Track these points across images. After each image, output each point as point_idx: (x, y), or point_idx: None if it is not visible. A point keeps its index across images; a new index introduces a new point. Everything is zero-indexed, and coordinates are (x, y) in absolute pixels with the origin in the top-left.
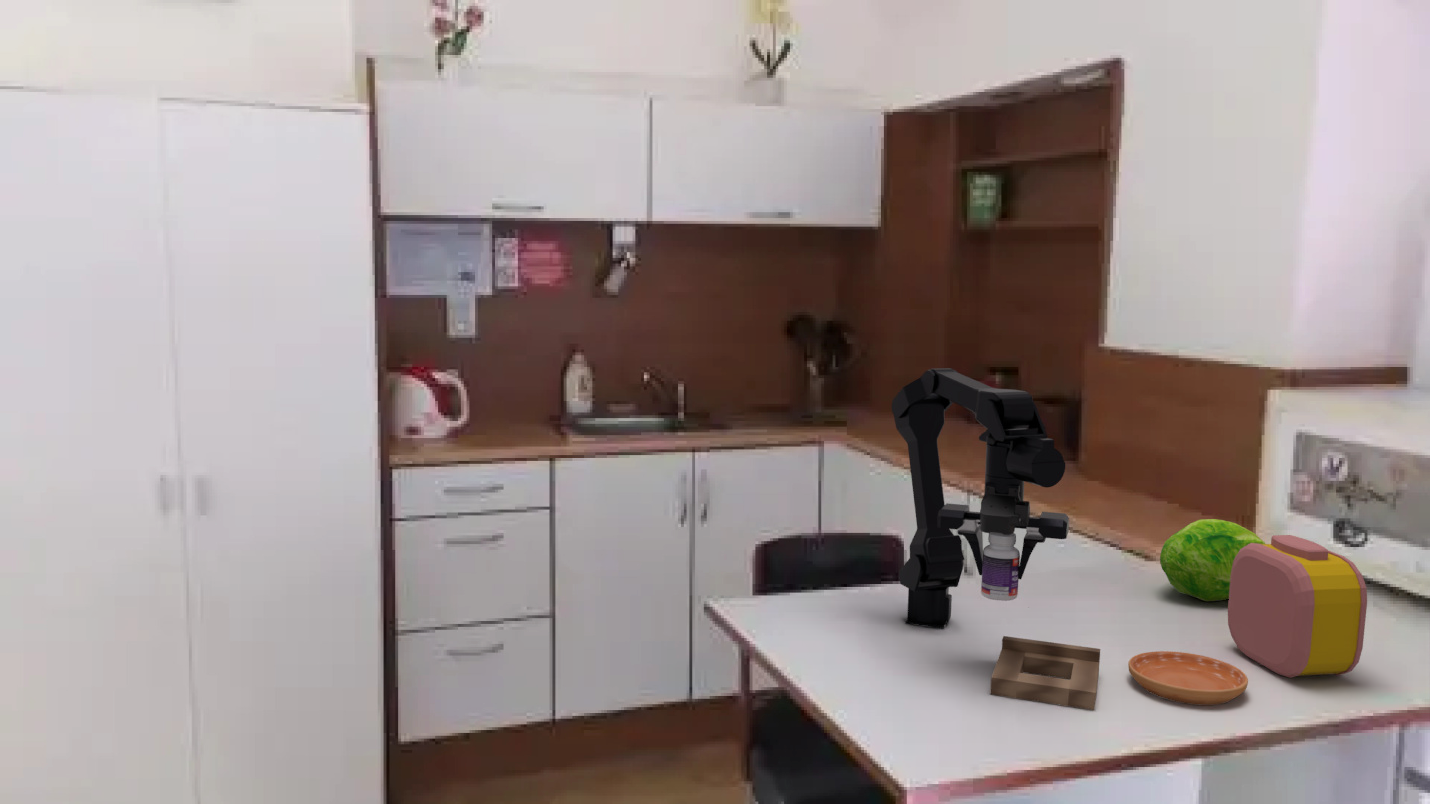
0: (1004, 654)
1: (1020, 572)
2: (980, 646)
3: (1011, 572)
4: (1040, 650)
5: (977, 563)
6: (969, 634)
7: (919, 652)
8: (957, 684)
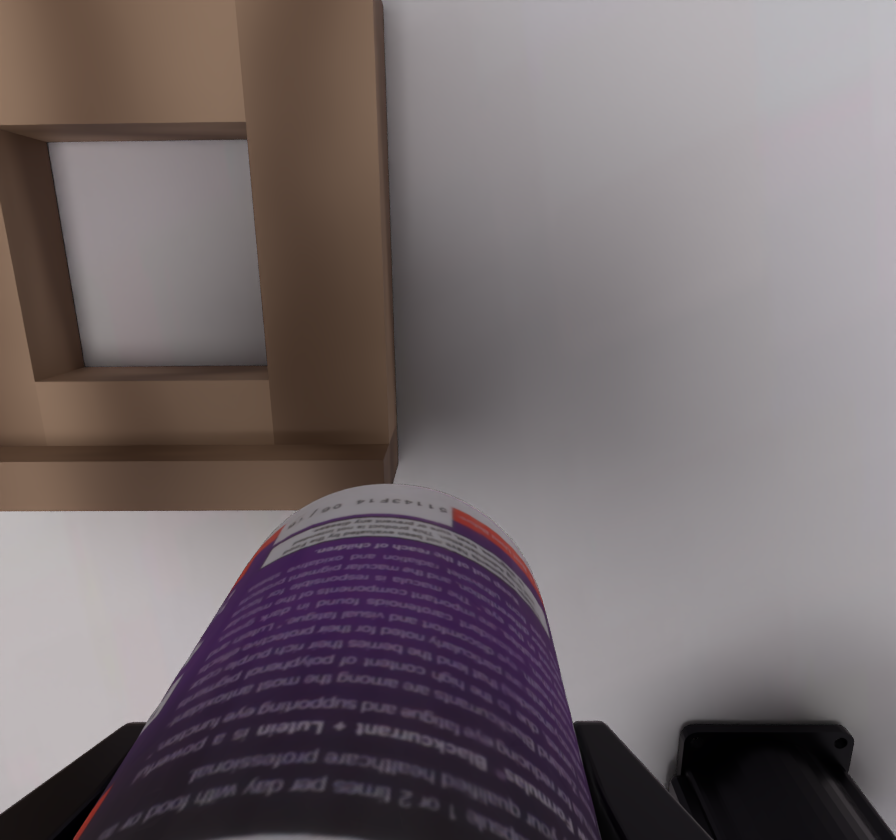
0: (363, 366)
1: (86, 776)
2: None
3: (171, 698)
4: (198, 450)
5: (678, 828)
6: None
7: (760, 428)
8: (550, 80)
